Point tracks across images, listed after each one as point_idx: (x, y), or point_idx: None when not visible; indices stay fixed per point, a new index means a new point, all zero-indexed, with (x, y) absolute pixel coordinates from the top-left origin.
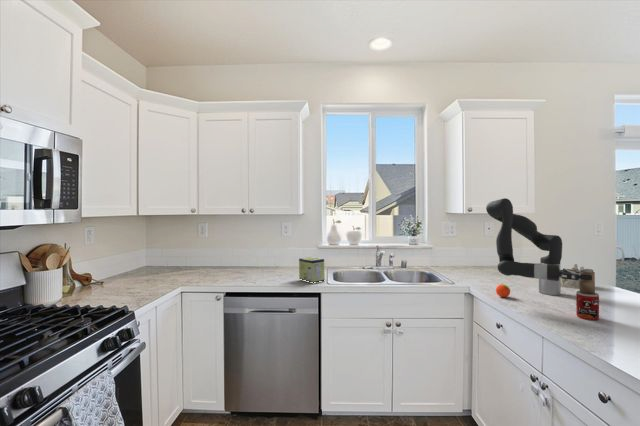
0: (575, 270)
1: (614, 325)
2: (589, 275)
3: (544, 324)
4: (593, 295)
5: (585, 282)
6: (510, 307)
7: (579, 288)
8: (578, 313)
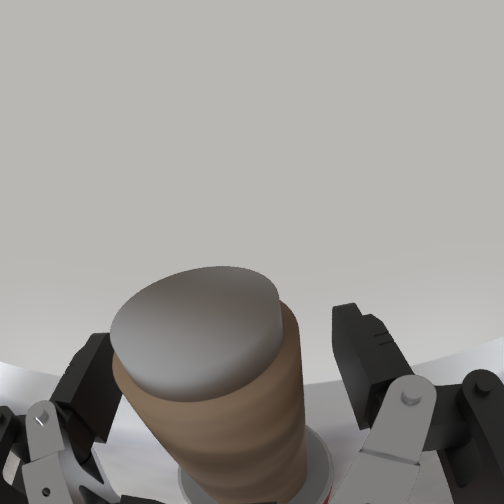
0: (63, 458)
1: (324, 426)
2: (360, 315)
3: None
4: (312, 431)
5: (304, 425)
6: None
7: None
8: None
